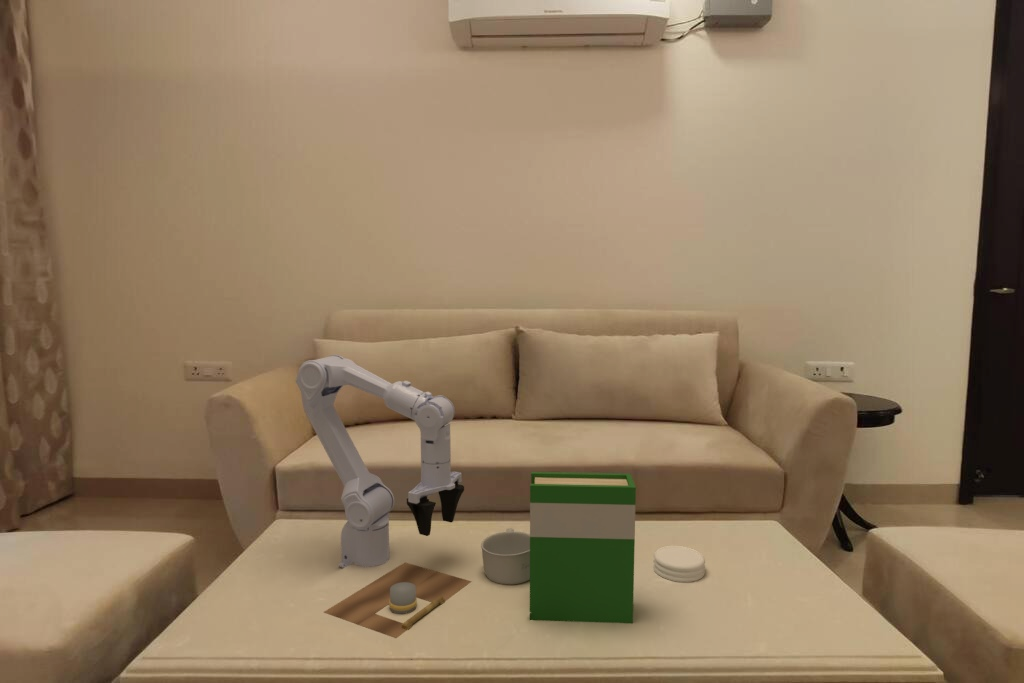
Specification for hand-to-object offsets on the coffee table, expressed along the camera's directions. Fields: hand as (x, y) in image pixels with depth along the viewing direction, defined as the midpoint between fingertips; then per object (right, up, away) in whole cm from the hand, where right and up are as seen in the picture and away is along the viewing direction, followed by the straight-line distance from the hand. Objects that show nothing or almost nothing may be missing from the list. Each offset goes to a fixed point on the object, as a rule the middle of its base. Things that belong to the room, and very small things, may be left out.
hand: (436, 527), depth 128 cm
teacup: (+15, -10, +1) cm, 18 cm away
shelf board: (-5, -11, -10) cm, 16 cm away
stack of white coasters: (+48, -10, +4) cm, 49 cm away
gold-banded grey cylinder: (-4, -12, -14) cm, 18 cm away
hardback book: (+27, -12, -12) cm, 31 cm away
